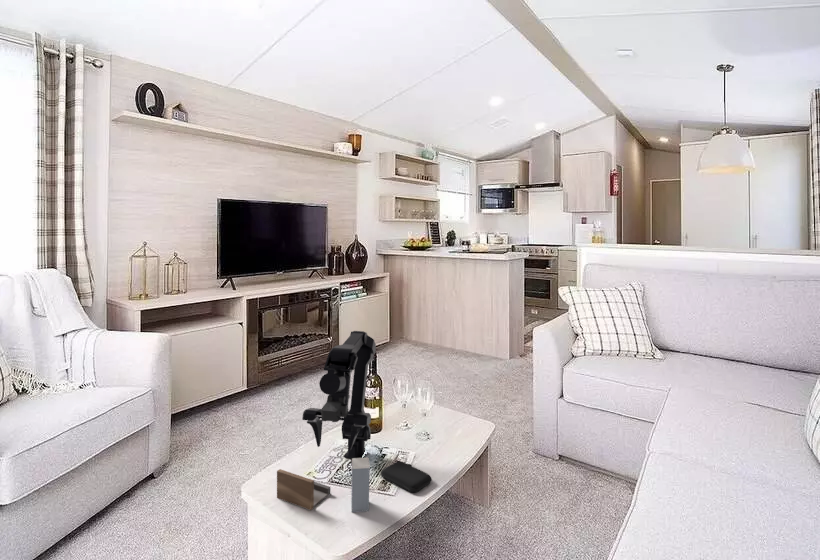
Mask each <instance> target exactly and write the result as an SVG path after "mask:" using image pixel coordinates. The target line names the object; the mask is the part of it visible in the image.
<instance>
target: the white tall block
mask: <svg viewBox="0 0 820 560" xmlns="http://www.w3.org/2000/svg"><path fill="white" fill-rule="evenodd" d="M370 466H371V465H370V459H369V457H368V456H367V457H364V458H352V459H351V496H350V497H351V498H350V499H351V500H350V502H351V503H350V504H351V513H357V512H359V513H360V512H369V510H370V505H369V504H370V469H371V468H370Z"/></svg>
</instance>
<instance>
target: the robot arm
mask: <svg viewBox="0 0 820 560" xmlns="http://www.w3.org/2000/svg"><path fill="white" fill-rule="evenodd" d="M376 350H377V344H376V342H375V338H373V337H371V336H369V335H368V333H367V331H362V330H353V331H350V335H349V337H347V338H346V340H345V341H344V342H343V343H342V344H338V345H335V346H333V347H332V348H331V349H330V350H329V352H328V355H327V358H326V361H325V365H324V367H323V371H326V372H327V373H324V374H323V375H322V376H321V378H320V380H319V382H318V383H319V384H318V385H319V388H320V390H321V392H322V393H323V394H325V395H327V398H326V399H327V400H326V401H325V404H324V405H323V406H322V407H321V408H318V407H317V408H316V407H310V408H307V409H304V411H303V412H302V419H301V420H302V421H306V424H309V425H310V426H311V428H312V430H313V433H314V437H315V441H316V444H317V445H316V446H317V448H319V447H321V444H322V432H323V422H331V423H337V422H339V421H342V424H341V436H342V440H347V451H346V452H345V453H344V454H343V458H347V459H351V460H352V458H362V455H363V454H364V452H365V450H366V448H365V447H366V442H368V441H369V440H371V437H372V436H371V434H372V433H371V427H370V424H371V423H372V421H371V420H372V415H371V414H370V413H369V412H366V411H365V397H366V388H367V378H368V368H369V366H370V363H371V362H372V361H373V359H374V356H375V354H376ZM352 372H353V378H352V388H351V377H352V376H351V375H352ZM350 388H351V389H352V390H351V397H350ZM350 399H351V400H350ZM349 402H350V406H349ZM349 407H350V408H349Z"/></svg>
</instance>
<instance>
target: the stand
mask: <svg viewBox="0 0 820 560" xmlns="http://www.w3.org/2000/svg"><path fill="white" fill-rule="evenodd" d="M330 494H331V486H329V485H327V484H322V483H321V482H317V481H315V480H313V479H311V478H307V477H305V476H302V475H299V474H296V473H294V472H290V471H286V470H284V469H281V468H279V469H278V470H276V498H277V499H280V500H283V501H285V502H288V503H290V504H293V505H294V506H295V505H296V506H299V507H302V508H304V509H306V510H309V511H312V510H313V509H314V508H315V507H316V506H318V505H319V504H320V503H321V502H323V500H325V499H326V498H327V497H328V496H330Z"/></svg>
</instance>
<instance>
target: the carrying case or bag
mask: <svg viewBox="0 0 820 560" xmlns="http://www.w3.org/2000/svg"><path fill="white" fill-rule="evenodd" d="M380 475H381V477H382V478H383V479H384V480H386V481H388V482H390V483H392V484H393V483H394V484H393V485H395V484H396V485H395V486H397V487H400V488H401V489H403V490H405V491H407V492H409V493H412V494H415V493H418V492H419V491H421V490H422V489H424V488H425V487H427V486H428V485H429V484H431V483H432V479H433V478H432V477H431V476H430V474H428V473H427V472H425V471H422V470H421V469H419V468H417V467H414V466H413V465H412V464H410V463H405V462H404V461H400V460H398V461H395V462H393V463H392V464H390V465H388V466H386V467H384V468H383V469H382V471H381V472H380Z"/></svg>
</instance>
